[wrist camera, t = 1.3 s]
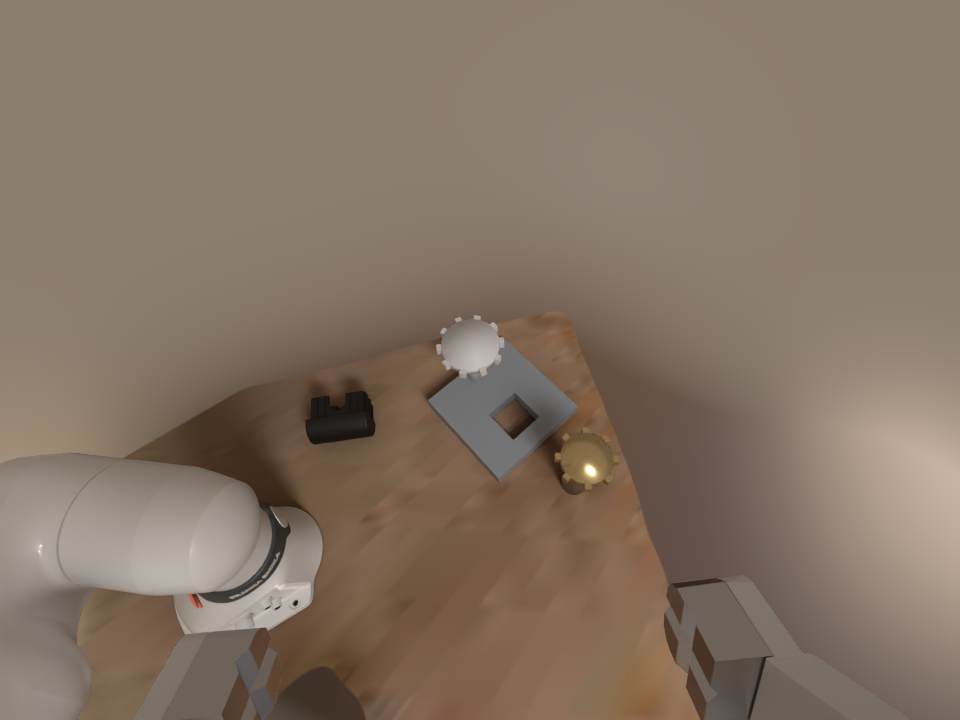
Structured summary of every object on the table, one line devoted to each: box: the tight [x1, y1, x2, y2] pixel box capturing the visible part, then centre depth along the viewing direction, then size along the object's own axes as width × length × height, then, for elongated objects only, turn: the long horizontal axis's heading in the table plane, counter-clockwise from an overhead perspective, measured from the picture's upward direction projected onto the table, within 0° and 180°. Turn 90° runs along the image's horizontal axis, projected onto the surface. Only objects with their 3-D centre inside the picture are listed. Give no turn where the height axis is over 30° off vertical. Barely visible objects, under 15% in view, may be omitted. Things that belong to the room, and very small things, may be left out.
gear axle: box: [554, 428, 619, 495], centre depth 69 cm, size 8×8×14 cm
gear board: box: [428, 315, 578, 483], centre depth 76 cm, size 18×21×14 cm
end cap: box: [306, 391, 375, 444], centre depth 79 cm, size 10×7×7 cm
